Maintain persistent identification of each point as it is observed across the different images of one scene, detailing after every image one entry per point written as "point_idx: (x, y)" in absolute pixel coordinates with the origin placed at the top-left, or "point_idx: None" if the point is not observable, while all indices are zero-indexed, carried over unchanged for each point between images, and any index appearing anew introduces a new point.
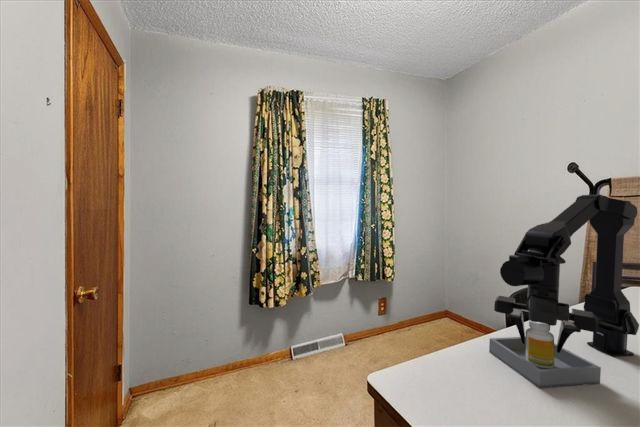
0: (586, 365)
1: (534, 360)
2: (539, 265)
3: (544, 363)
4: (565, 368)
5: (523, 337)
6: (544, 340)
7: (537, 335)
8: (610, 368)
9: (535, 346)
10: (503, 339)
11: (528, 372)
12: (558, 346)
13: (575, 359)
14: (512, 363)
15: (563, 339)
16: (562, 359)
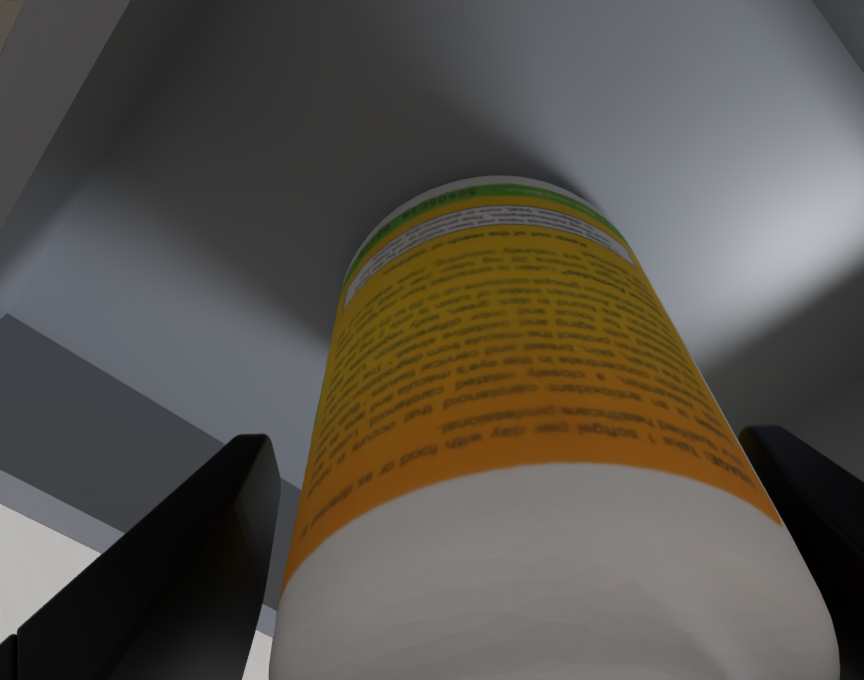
0: (14, 429)
1: (562, 212)
2: None
3: (435, 209)
4: (85, 5)
5: (838, 505)
6: (442, 492)
7: (628, 576)
8: (22, 597)
9: (601, 340)
10: None
11: None
12: (213, 508)
13: (141, 498)
14: None
15: (25, 669)
16: (292, 505)
